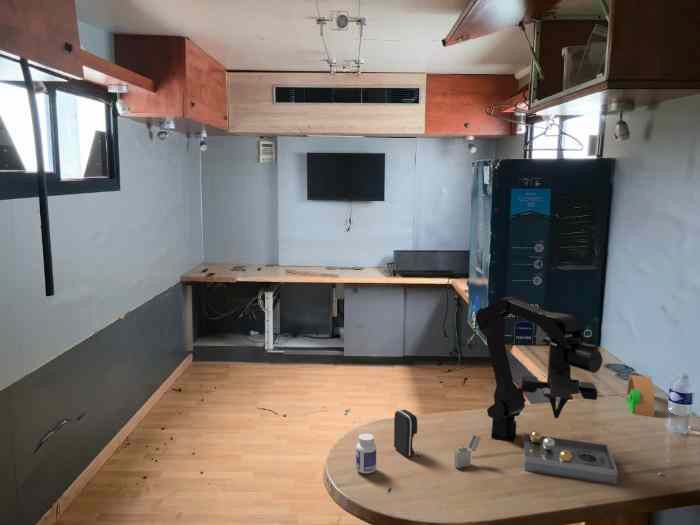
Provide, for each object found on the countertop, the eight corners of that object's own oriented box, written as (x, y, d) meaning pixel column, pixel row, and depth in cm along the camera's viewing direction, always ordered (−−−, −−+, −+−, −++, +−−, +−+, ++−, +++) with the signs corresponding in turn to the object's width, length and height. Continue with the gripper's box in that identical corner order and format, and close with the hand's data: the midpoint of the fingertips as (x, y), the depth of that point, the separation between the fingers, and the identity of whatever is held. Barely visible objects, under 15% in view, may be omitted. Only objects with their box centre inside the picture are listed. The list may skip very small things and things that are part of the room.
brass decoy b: (558, 465, 138) (559, 452, 137) (557, 459, 141) (558, 447, 141) (572, 467, 137) (573, 454, 136) (571, 461, 140) (572, 448, 140)
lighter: (457, 468, 140) (458, 439, 139) (453, 465, 142) (455, 436, 141) (479, 463, 143) (481, 435, 142) (476, 460, 145) (477, 432, 144)
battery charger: (418, 454, 147) (419, 415, 146) (407, 457, 145) (408, 418, 144) (403, 444, 153) (404, 406, 152) (392, 447, 152) (393, 409, 150)
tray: (524, 470, 140) (525, 457, 139) (523, 445, 154) (524, 433, 153) (616, 485, 133) (617, 471, 133) (606, 457, 148) (607, 444, 147)
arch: (644, 396, 192) (646, 369, 191) (654, 417, 173) (656, 387, 172) (626, 394, 194) (628, 367, 193) (634, 414, 175) (636, 385, 174)
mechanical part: (652, 418, 174) (654, 395, 173) (632, 415, 176) (633, 392, 175) (644, 404, 186) (646, 382, 185) (625, 402, 187) (627, 380, 186)
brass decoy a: (529, 444, 149) (530, 432, 149) (529, 438, 152) (529, 427, 152) (542, 446, 148) (542, 434, 148) (541, 440, 151) (542, 429, 151)
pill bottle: (378, 466, 141) (379, 434, 140) (371, 475, 136) (372, 443, 135) (360, 462, 143) (361, 430, 142) (352, 471, 138) (353, 438, 137)
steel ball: (540, 447, 145) (540, 435, 147) (544, 452, 147) (545, 440, 149) (552, 447, 143) (553, 435, 145) (556, 452, 145) (557, 440, 147)
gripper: (523, 367, 137) (520, 425, 139) (602, 375, 131) (598, 435, 133) (522, 355, 147) (519, 408, 149) (596, 362, 142) (592, 417, 144)
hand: (556, 417), depth 143 cm, fingers closed
